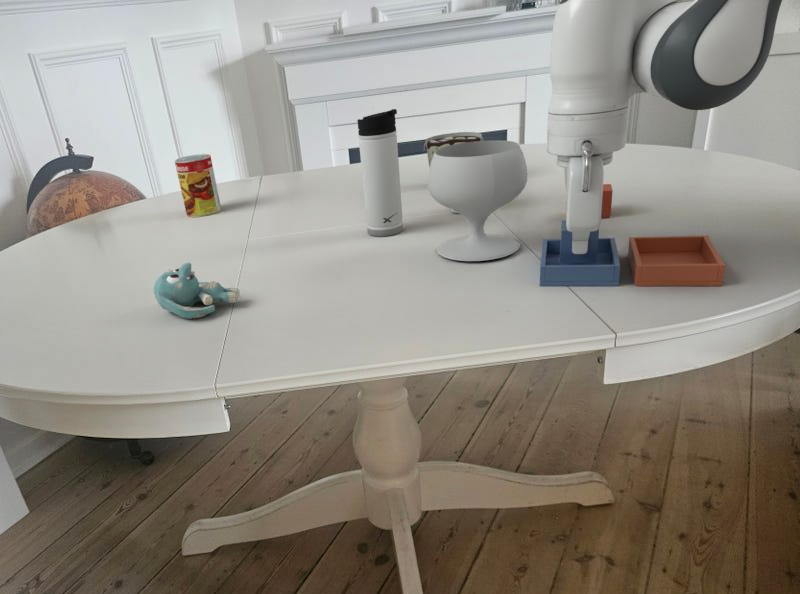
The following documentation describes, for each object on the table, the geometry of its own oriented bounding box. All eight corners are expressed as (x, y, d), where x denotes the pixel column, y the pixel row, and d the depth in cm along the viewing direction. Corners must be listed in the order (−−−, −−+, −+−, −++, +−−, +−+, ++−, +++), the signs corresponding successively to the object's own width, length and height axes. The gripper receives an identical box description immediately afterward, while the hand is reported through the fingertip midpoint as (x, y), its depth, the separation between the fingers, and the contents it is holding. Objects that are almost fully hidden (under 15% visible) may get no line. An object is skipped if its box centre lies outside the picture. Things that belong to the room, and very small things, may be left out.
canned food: (184, 212, 145) (172, 158, 140) (218, 205, 147) (207, 152, 141) (189, 219, 138) (176, 163, 133) (224, 212, 140) (213, 156, 135)
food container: (483, 177, 138) (482, 129, 133) (484, 183, 132) (484, 134, 128) (426, 182, 140) (423, 135, 136) (425, 188, 135) (423, 140, 130)
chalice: (540, 257, 90) (543, 148, 83) (443, 271, 90) (439, 164, 83) (507, 231, 102) (508, 134, 95) (422, 243, 102) (417, 148, 95)
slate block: (595, 251, 84) (597, 219, 82) (596, 263, 80) (599, 229, 78) (559, 252, 86) (561, 220, 84) (559, 263, 82) (561, 230, 80)
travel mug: (396, 237, 107) (387, 112, 98) (361, 236, 110) (349, 115, 101) (410, 226, 112) (402, 106, 102) (376, 225, 115) (366, 109, 106)
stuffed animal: (229, 281, 81) (138, 272, 82) (229, 331, 85) (142, 322, 85) (246, 254, 91) (165, 247, 91) (246, 300, 94) (167, 293, 95)
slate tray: (613, 255, 87) (614, 237, 86) (618, 286, 78) (620, 266, 76) (542, 256, 90) (543, 239, 89) (539, 286, 81) (540, 266, 80)
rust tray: (704, 254, 83) (707, 235, 82) (721, 286, 74) (725, 265, 73) (627, 255, 86) (629, 237, 85) (634, 286, 77) (636, 265, 76)
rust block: (608, 210, 105) (611, 183, 103) (610, 217, 102) (612, 190, 100) (580, 211, 107) (582, 185, 105) (580, 218, 103) (582, 191, 101)
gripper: (620, 149, 66) (609, 273, 73) (609, 119, 83) (601, 221, 89) (556, 153, 68) (551, 273, 75) (558, 123, 85) (554, 223, 92)
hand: (579, 245), depth 82 cm, fingers closed on slate block, 4 cm apart
